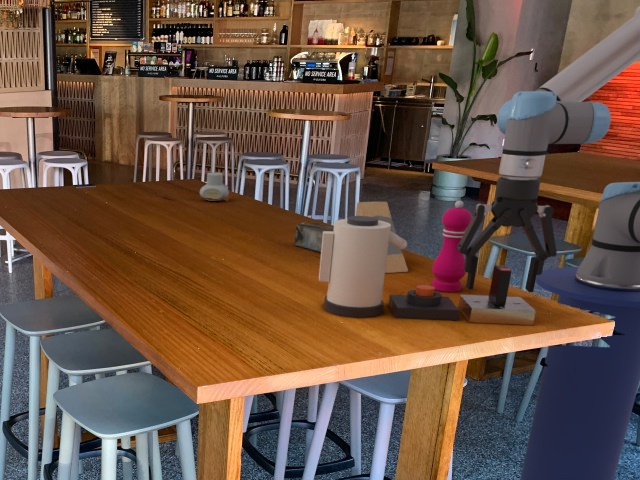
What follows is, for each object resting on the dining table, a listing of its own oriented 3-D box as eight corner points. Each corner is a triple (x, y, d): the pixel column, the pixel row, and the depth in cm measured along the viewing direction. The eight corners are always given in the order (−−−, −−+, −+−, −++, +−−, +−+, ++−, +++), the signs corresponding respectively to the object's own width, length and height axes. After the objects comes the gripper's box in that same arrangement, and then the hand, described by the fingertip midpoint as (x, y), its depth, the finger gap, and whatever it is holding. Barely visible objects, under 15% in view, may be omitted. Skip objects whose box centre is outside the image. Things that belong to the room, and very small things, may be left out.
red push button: (431, 293, 164) (432, 285, 164) (435, 298, 161) (436, 289, 160) (413, 292, 165) (414, 284, 164) (416, 297, 162) (418, 289, 161)
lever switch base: (517, 310, 165) (520, 296, 164) (533, 325, 156) (536, 309, 155) (457, 308, 167) (460, 293, 166) (469, 322, 158) (471, 307, 157)
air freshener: (230, 199, 301) (231, 172, 297) (226, 203, 294) (227, 175, 290) (201, 198, 304) (202, 171, 300) (197, 201, 296) (198, 174, 293)
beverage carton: (314, 242, 228) (317, 219, 226) (362, 256, 213) (365, 231, 210) (293, 245, 225) (295, 222, 222) (339, 259, 209) (342, 234, 207)
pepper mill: (442, 283, 186) (455, 196, 179) (469, 290, 181) (484, 201, 173) (422, 287, 182) (435, 199, 175) (449, 294, 177) (464, 204, 169)
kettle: (393, 303, 171) (405, 214, 163) (403, 319, 160) (416, 225, 152) (314, 299, 173) (322, 212, 166) (318, 315, 162) (327, 222, 155)
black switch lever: (488, 298, 163) (494, 263, 160) (498, 298, 163) (504, 264, 160) (494, 305, 158) (501, 269, 156) (505, 305, 158) (511, 270, 155)
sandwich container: (377, 273, 195) (384, 212, 189) (350, 259, 209) (356, 202, 203) (409, 272, 196) (418, 211, 190) (380, 258, 210) (387, 200, 204)
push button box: (446, 306, 168) (449, 288, 167) (457, 320, 159) (460, 301, 157) (388, 304, 170) (390, 286, 168) (395, 317, 161) (398, 298, 159)
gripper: (460, 178, 149) (442, 291, 158) (591, 181, 146) (567, 296, 154) (451, 173, 156) (435, 282, 165) (577, 176, 153) (554, 286, 161)
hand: (499, 289), depth 159 cm, fingers open, 11 cm apart
